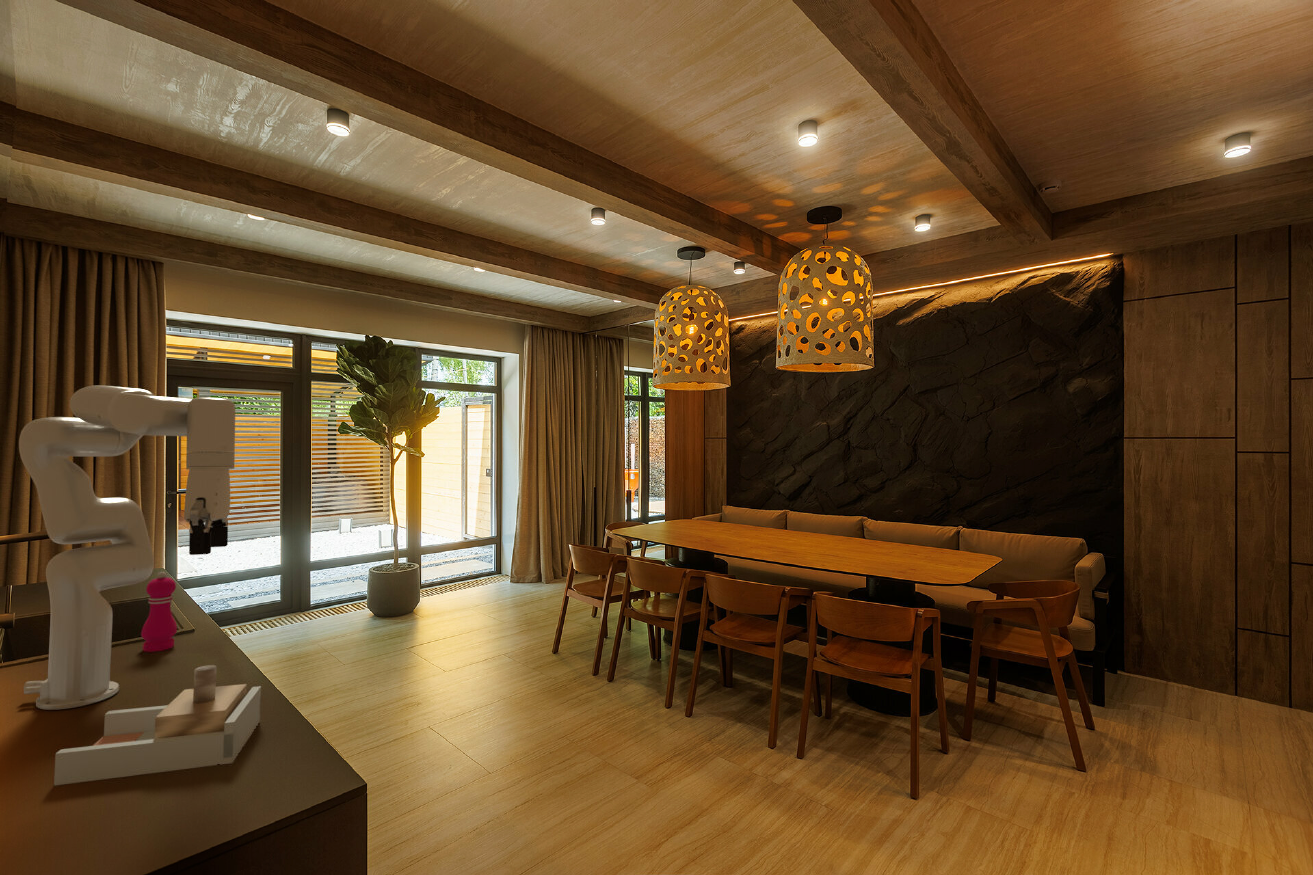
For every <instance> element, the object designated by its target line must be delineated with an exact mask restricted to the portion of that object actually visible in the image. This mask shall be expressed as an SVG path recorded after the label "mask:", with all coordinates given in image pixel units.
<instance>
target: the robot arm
mask: <svg viewBox="0 0 1313 875" xmlns="http://www.w3.org/2000/svg"><path fill="white" fill-rule="evenodd" d="M69 408H70V410H71V413H72V414H73V415H74V416H75V417H71V416H70V417H69V416H54V417H53V416H49V417H42V418H38V419H33V420H31V421H30V422H28V423H26V424H25V425H24V427H23V428H22V430H21V432H20V435H19V440H18V451H19V455H20V459H21V462H22V463H23V465H24V467H25V469H26V471H27V473H28V474H29V476H30V478H31V480H32V482H33V483H34V485H35V488H36V491H37V496H38V502H39V505H40V509H41V513H42V517H43V518H42V519H43V522H44V523H43V524H44V526H45V530H46V533H47V536H48V538H49V539H50V540H51V541H52V542H53V543H56V544H59V545H77V544H85V543H94V542H105V541H110V543H111V544H110V543H109V544H101V545H93V546H92V545H91V546H85V547H78V548H72V549H68V550H65V551H62V552H60V553H58V554H55V556H53V557H52V558H51V559H50V560H49V561H48V563H47V564H46V567H45V579H46V585H47V589H48V594H49V602H50V604H49V605H50V606H49V607H50V623H49V624H50V626H49V647H48V666H47V667H48V668H47V678H46V679H45V680H28V681H26V682H25V683H24V685H23V694H24V695H33V694H37V693H38V694H39V695H40V696H39V697H37V699H36V700H35V706H36V708H37V709H40V710H46V711H47V710H48V711H51V710H52V711H54V710H55V711H56V710H58V711H59V710H67V709H74V708H79V707H84V706H88V705H91V704H95V703H98V702H101V701H104V700H106V699H108V698H111V697H112V696H114V695H115V694H117V693H118V692H119V689H120V685H119V683H118V682H115V681H113V680H112V681H111V680H110V679H111V658H112V656H111V655H112V636H113V634H112V633H113V615H114V614H113V608H112V605H111V604H110V603H109V602H108V600H107V599H105V597H103V596H102V594H101V593H100V592H102V591H104V590H109V589H114V588H120V587H125V586H131V585H135V584H139V583H141V582H144V581H147V579H148V578H150V577H151V575H152V572H153V571H154V566H155V558H154V552H153V549H152V548H153V547H152V545H151V541H150V537H149V533H148V529H147V525H146V520H145V517H144V514H143V513H144V512H142V509H141V507H140V506H139V504H137V503H136V501H134V500H132V499H130V498H127V497H121V496H116V497H98V496H97V495H96V494H95V491H94V488H93V483H92V480H91V478H90V476H89V475H88V474H87V472H85V471H84V470H83V468H82V467H80V466H79V465H78V464H76V463H75V462H73V461H71V460H70V459H69V457H117V456H122V455H123V454H125V453H127V452H128V451H130V450H131V449H132V448H133V447H134V446H135V445H136V444H137V443H138V441H139V440H141V438H142V437H143V436H152V437H153V436H155V437H156V436H157V437H158V436H159V437H161V436H163V437H165V436H166V437H186V455H185V456H186V460H185V461H186V462H185V470H188V474H187V478H186V487H185V497H184V498H185V499H184V513H183V518H184V521H186V522H188V524H189V525H190V526H189V529H188V530H189V541H188V543H189V544H188V545H189V546H188V550H189V552H188V554H189V555H190V556H195V555H196V556H198V555H199V556H200V555H208V554H211V552H212V548H223V547H224V548H226V547H227V546H228V545H229V544H228V542H229V541H228V539H229V534H228V533H229V520H228V517H229V514H230V509H231V480H230V479H231V478H230V477H231V476H230V470H234V469H235V462H236V461H235V458H236V457H235V454H236V453H235V451H236V450H235V448H236V447H235V446H236V444H235V443H236V406H235V403H234V401H232V400H230V399H226V398H222V397H221V398H219V397H195V398H185V397H184V398H183V397H170V396H157V395H155V394H154V393H152V392H151V391H149V390H146V389H142V388H135V387H133V388H132V387H122V386H113V385H90V386H89V385H88V386H85V387H82V388H79V389H78V390H76V391H75V392H74V393H73V394H72V396H71V397H70V399H69Z"/></svg>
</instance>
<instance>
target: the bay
mask: <svg viewBox="0 0 1313 875" xmlns="http://www.w3.org/2000/svg"><path fill="white" fill-rule="evenodd" d="M261 694H262V686H260V685H259V686H252V687H251V688H250V690H249V691H248V692H247V694H246V696H245V698H244V699H243V700H242V701H241V703H240V704H239V705H238V706H237V708H236V709H235V710H234V712H233V713H232V714H231V715H230V717H229V718H228V719H227V720H226V722H225V723H224V731H223V732H214V733H205V734H196V735H187V736H178V737H169V738H160V739H154V737H155V717H156V716H157V715H158V714H159V713H160V712H161V711H163V710H164V709H165V708H166V707H167V706H168V705H169V704H167V705H158V706H157V705H156V706H148V707H136V708H128V709H127V708H125V709H115V710H108V711H107V712H106V713H105V714H104V725H103V726H104V727H103V736H102V737H101V738H99V739H98V741H96V742H95V743H94V744H92V745H89V746H80V747H70V748H63V749H60V750H58V751H57V752H56V753H55V758H54V760H55V761H54V778H53V779H54V780H53V782H54V783H53V786H60V785H69V784H78V783H84V782H85V783H86V782H92V781H99V780H101V781H102V780H108V779H109V780H110V779H115V778H123V777H132V776H139V775H140V776H141V775H146V774H147V775H148V774H157V773H164V772H172V771H180V770H187V769H195V768H202V767H204V768H205V767H213V766H218V765H217V764H220V765H226V764H233V763H234V762H235V760H236V758H237V756H239V754H238V753H241V751H242V749H243V748H244V746H245V745H246V744H247V743H248V742H247V741H248V740H249V739H250V737H251V736H252V735H253V733H254V732H255V730H256V728H257V727H258V725H259V724H258V723H260V722H261V721H260V719H261V697H262V695H261ZM256 726H257V727H256ZM254 729H255V730H254ZM242 747H243V748H242Z"/></svg>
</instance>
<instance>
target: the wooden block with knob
mask: <svg viewBox="0 0 1313 875" xmlns="http://www.w3.org/2000/svg"><path fill="white" fill-rule="evenodd" d="M193 673H194V675H193V688H187V689H186V688H185V689H184V690H182V691H181V692H180V693H179V694H178V695H176V696H175V697H176V698H174V699H173V700H172V701H170V703H169V704H167V705H168V706H167V707H166V708H165V709H164V710H163V711H161V712H160V713H159V714H158V715H157V716H156V717H155V737H154V739H160V738H169V737H178V736H187V735H196V734H205V733H214V732H223V731H224V723H225V722H226V720H227V719H228V718H229V717H230V715H231V714H232V713H233V712H234V710H235V709H236V708H237V706H238V705H239V704H240V703H241V701H242V700H243V699H244V698H245V696H246V695H247V694H248V692H247V691H248V690H247V689H248V684H247V683H243V684H231V685H222V686H221V685H220V686H217V685H216V684H217V665H214V664H210V665H209V664H208V665H202V666H199V667H196V668H195V669H194V671H193Z"/></svg>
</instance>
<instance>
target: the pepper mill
mask: <svg viewBox="0 0 1313 875" xmlns="http://www.w3.org/2000/svg"><path fill="white" fill-rule="evenodd" d="M166 576H167V573H166V572H165V571H159V572H158V573H157V577H156V578H154V579H152V580H150V581H149V582H148V583H147V585H146V588H145V589H146V594H147V595H149V597H148V598H147V599H148V602H147V603H148V604H150V605H149V607H150V609H149V613H148V617H147V618H146V621H145V622H144V624H143V626H142V629H141V636H140V637H141V638H142V639H143V640H144V643H143V644H142V650H143V651H144V652H148V653H149V652H150V653H153V652H162V651H166V650H169V649H172V648H174V646H175V639H174V638H173V637H174V636H175V635H176V633H177V631H178V627H177V623H176V620H175V618H174V616H173V613H172V611H171V605H172V604H171V603H172V602H173V600H174V599H173V598H174V595H173V593H174V592H175V591H176V588H177V585H176V581H175V580H174V579H172V578H171V577H166Z"/></svg>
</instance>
